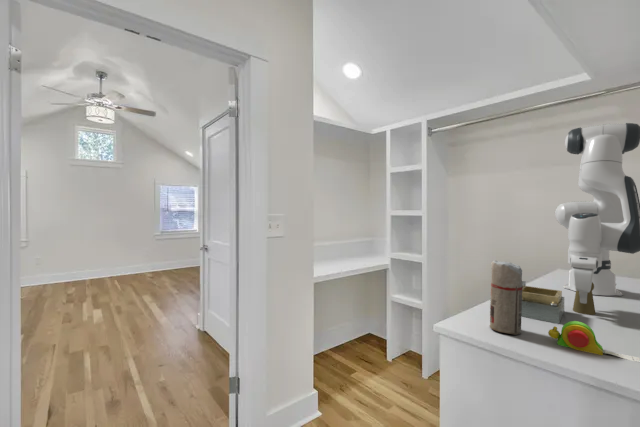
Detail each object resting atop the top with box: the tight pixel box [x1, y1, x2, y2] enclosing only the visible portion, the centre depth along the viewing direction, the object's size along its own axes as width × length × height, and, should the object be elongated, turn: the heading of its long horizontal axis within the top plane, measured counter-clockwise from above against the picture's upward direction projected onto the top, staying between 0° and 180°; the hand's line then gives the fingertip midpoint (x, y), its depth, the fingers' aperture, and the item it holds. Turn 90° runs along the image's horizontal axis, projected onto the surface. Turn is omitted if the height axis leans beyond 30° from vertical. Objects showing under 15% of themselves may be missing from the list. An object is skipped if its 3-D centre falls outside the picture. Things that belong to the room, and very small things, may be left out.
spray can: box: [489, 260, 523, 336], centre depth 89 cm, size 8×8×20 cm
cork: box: [572, 282, 596, 316], centre depth 105 cm, size 6×6×11 cm
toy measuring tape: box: [548, 320, 640, 363], centre depth 75 cm, size 6×20×7 cm, turn 51°
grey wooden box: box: [521, 280, 565, 325], centre depth 104 cm, size 16×12×9 cm
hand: (584, 300), depth 105 cm, fingers open, 8 cm apart
